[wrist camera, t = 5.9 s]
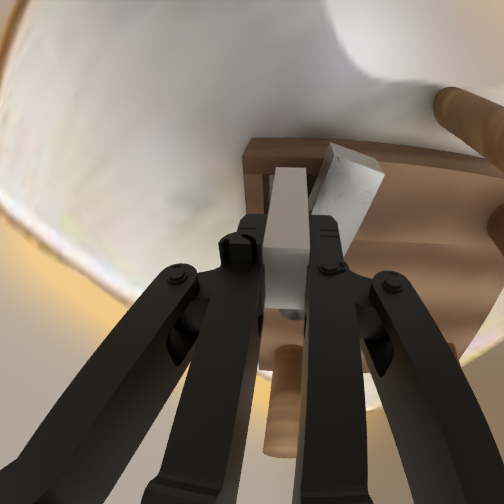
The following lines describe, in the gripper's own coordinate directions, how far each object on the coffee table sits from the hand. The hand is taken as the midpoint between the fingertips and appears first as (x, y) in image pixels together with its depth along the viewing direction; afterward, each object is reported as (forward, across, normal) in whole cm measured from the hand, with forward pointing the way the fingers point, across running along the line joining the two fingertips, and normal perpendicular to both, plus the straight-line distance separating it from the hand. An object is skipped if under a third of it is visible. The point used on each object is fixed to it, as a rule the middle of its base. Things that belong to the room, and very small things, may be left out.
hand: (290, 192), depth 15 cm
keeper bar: (+1, +2, -3) cm, 3 cm away
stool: (+5, +8, -8) cm, 12 cm away
